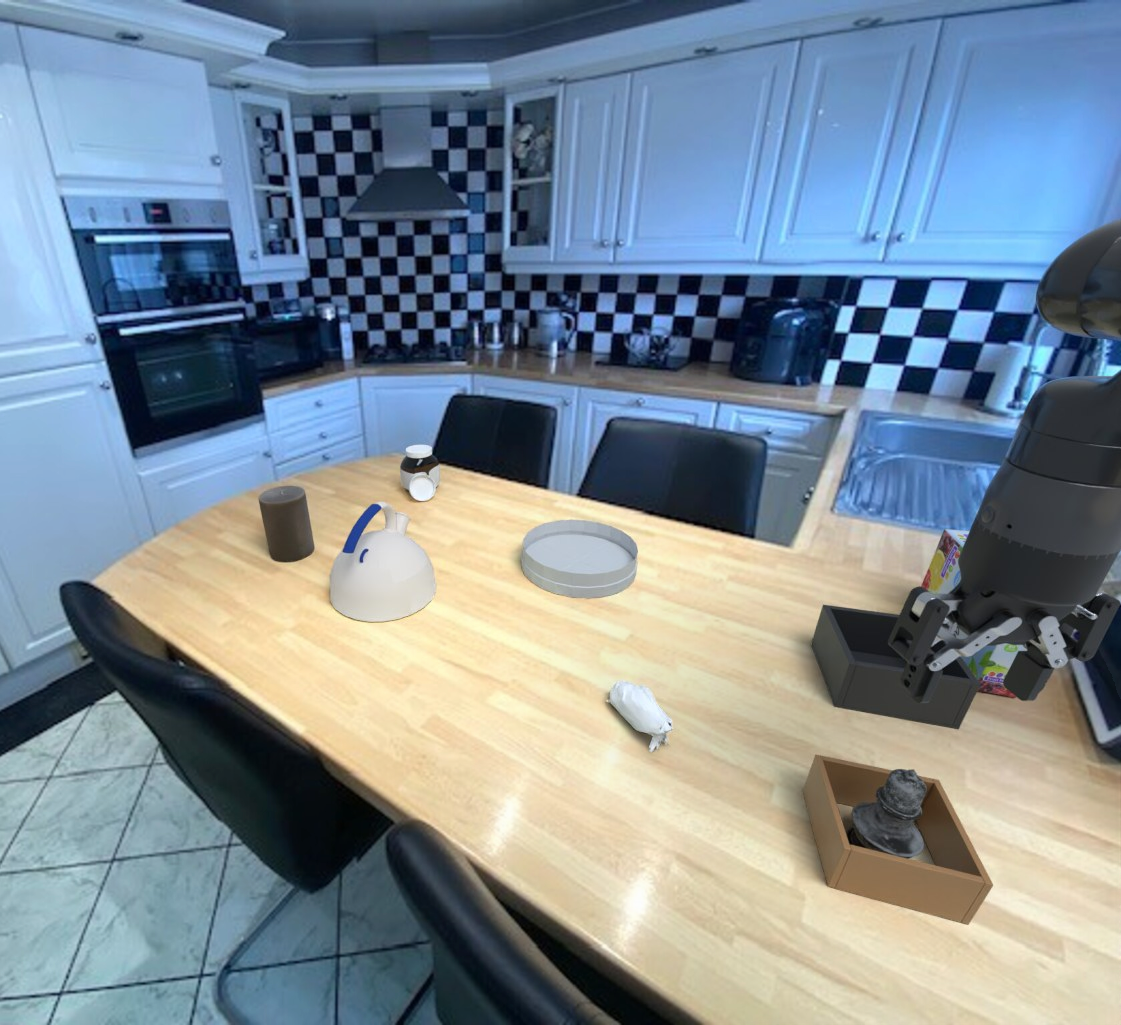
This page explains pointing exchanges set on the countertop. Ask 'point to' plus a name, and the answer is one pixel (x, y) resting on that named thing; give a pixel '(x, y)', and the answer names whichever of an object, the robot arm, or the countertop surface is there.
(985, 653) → the snack box
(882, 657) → the open box
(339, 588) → the kettle
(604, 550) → the dish
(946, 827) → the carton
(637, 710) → the white oblong lumpy piece
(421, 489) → the spread jar
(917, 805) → the dark grey chess piece
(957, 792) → the countertop surface
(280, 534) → the pillar candle
